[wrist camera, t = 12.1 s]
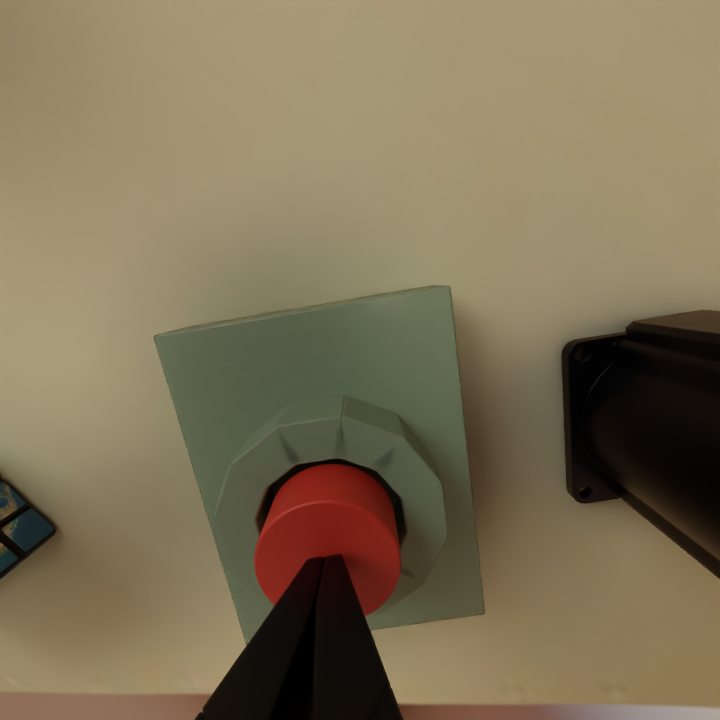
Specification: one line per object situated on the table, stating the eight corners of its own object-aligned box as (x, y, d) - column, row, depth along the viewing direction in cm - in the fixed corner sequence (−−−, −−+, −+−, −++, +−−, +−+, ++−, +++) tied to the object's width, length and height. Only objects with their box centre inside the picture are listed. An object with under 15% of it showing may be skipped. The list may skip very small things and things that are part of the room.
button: (402, 561, 10) (411, 616, 9) (285, 578, 10) (271, 635, 9) (384, 453, 10) (390, 490, 8) (258, 473, 10) (236, 514, 8)
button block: (467, 566, 15) (507, 669, 11) (262, 596, 15) (228, 706, 11) (434, 284, 12) (470, 285, 8) (187, 326, 12) (108, 347, 8)
